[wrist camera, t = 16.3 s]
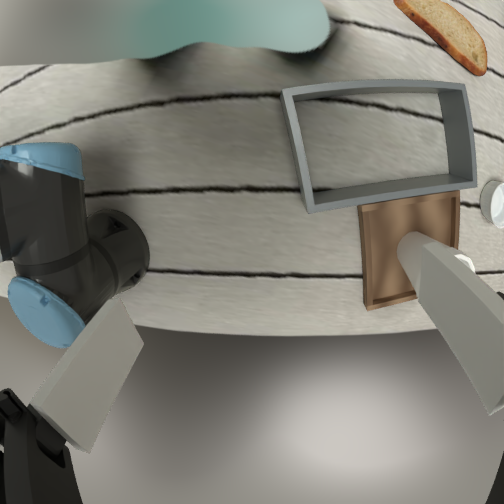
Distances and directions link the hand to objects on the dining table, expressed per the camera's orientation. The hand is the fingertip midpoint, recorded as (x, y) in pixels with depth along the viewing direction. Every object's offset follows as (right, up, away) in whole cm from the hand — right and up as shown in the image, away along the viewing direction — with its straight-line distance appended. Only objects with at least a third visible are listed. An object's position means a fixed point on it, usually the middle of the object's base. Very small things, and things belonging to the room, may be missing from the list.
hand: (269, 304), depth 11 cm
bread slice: (+33, +41, +15) cm, 55 cm away
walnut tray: (+27, +3, +31) cm, 41 cm away
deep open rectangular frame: (+19, +19, +25) cm, 37 cm away
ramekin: (+46, +12, +26) cm, 54 cm away
